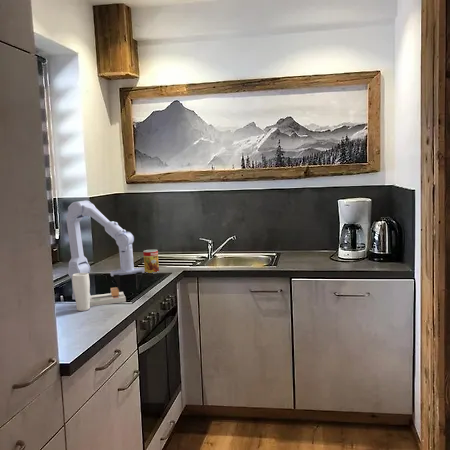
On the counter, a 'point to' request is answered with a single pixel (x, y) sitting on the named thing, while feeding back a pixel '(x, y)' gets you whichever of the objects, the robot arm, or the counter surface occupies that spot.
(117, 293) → the breaker toggle
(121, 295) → the panel
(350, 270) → the counter surface
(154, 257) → the canned food
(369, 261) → the counter surface
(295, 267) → the counter surface
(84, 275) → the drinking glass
